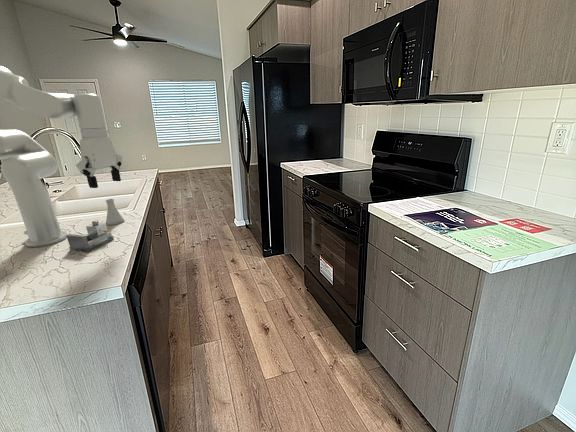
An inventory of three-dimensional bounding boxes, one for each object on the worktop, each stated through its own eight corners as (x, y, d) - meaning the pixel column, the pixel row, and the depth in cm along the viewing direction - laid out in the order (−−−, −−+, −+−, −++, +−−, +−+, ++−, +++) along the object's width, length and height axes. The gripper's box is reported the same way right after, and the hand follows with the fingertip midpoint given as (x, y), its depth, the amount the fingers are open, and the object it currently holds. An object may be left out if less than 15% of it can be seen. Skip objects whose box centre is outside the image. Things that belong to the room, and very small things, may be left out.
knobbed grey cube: (98, 234, 115) (94, 219, 113) (112, 236, 113) (108, 220, 111) (89, 239, 112) (85, 223, 110) (103, 240, 110) (99, 224, 108)
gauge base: (96, 237, 116) (93, 223, 115) (113, 239, 114) (110, 225, 112) (70, 250, 107) (65, 235, 105) (88, 252, 104) (83, 237, 102)
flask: (102, 222, 132) (97, 200, 128) (120, 218, 136) (115, 196, 133) (109, 226, 127) (103, 203, 123) (127, 221, 132) (122, 199, 128)
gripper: (107, 131, 111) (117, 178, 117) (61, 136, 96) (75, 189, 102) (124, 131, 109) (133, 179, 115) (79, 136, 94) (92, 191, 100)
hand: (105, 184), depth 108 cm, fingers open, 9 cm apart
